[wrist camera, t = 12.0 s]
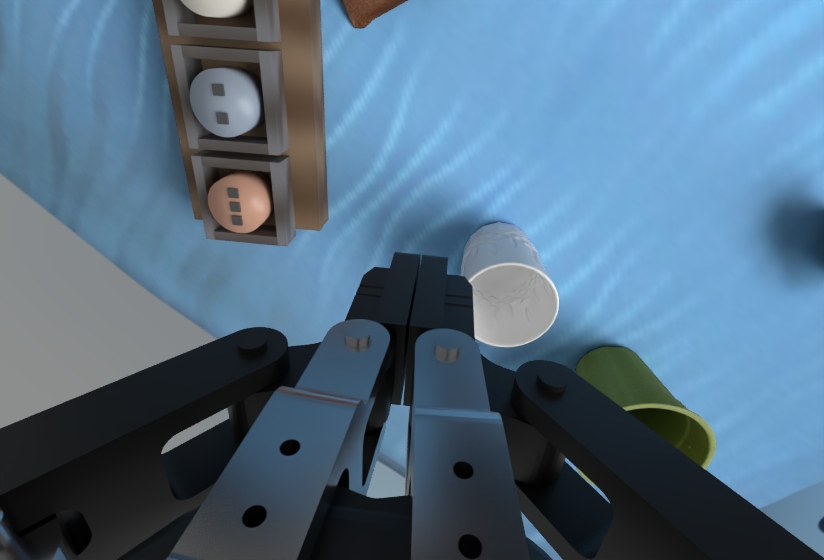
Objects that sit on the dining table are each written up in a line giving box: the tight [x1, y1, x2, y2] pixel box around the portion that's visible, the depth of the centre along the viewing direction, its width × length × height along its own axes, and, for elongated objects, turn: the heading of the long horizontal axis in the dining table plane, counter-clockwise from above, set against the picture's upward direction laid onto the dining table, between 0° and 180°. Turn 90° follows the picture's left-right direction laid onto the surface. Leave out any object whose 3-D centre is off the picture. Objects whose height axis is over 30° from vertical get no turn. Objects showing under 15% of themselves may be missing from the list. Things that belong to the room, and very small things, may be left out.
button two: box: [190, 66, 265, 137], centre depth 34 cm, size 5×5×3 cm
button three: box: [208, 169, 274, 233], centre depth 38 cm, size 5×5×3 cm
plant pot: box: [575, 346, 716, 487], centre depth 44 cm, size 12×12×11 cm
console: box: [152, 0, 328, 246], centre depth 36 cm, size 23×12×6 cm, turn 177°
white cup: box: [460, 222, 559, 347], centre depth 39 cm, size 8×8×10 cm
